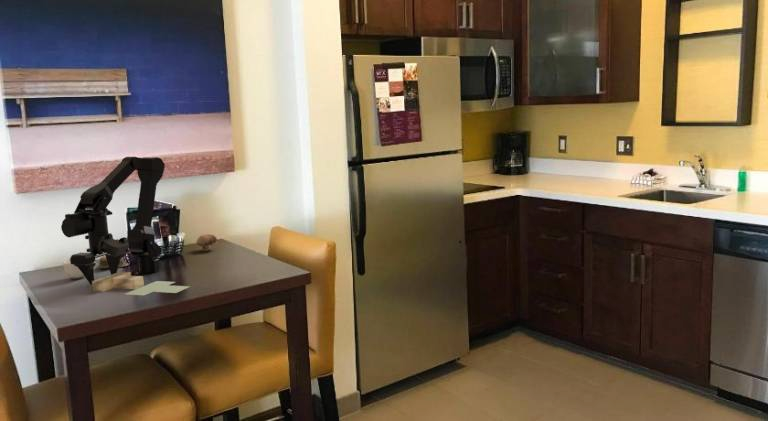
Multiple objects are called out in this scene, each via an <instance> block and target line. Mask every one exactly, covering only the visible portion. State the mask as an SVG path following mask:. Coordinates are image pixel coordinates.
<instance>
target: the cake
mask: <svg viewBox="0 0 768 421" xmlns="http://www.w3.org/2000/svg"><path fill="white" fill-rule="evenodd" d="M126 266H129V263H127V262H125V260H124V256H123V257H122V258H121V260H120V262H119V265H118V268H122V267H123V268H124V267H126ZM97 267H98V268H100V269H109V266H108V263H107V259H106V256H105V255H104V256H101V257H99V262H98V265H97Z"/></svg>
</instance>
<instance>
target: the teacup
mask: <svg viewBox="0 0 768 421" xmlns="http://www.w3.org/2000/svg"><path fill="white" fill-rule="evenodd" d="M94 263H96V265H95V266H94V268H93V269H94V270H95V269H96V268H97V267H98V263H97V262H96V261H94ZM62 265H63V269H64V273H65V275H66V276H67V277H68V278H70V279H81V278H84V277H85V276H84V275H83V273H82V272H81V271H80V269H79V268H78V267H77V266H74V264H71V263H70V259H67V260H66V261H65V260H64V261H63V262H62ZM85 278H86V277H85Z"/></svg>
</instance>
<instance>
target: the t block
mask: <svg viewBox="0 0 768 421" xmlns="http://www.w3.org/2000/svg"><path fill="white" fill-rule="evenodd" d="M144 282H145V281H144V276H143V275H132V273H131V272H130V271H117V273H115V274H112V275H111V274H109V275H107V276H103V277H101V278H98V279H94V281H92V291H93V292H104V293H105V292H106V291H109V290H112V289H123V290H124V289H126V290H136V289H138V288H141V287H143V286H145V283H144Z"/></svg>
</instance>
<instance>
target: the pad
mask: <svg viewBox="0 0 768 421" xmlns="http://www.w3.org/2000/svg"><path fill="white" fill-rule="evenodd" d="M175 283H176V281H166V280H165V281H164V280H156V281H153V282H151V283H148V284H146V285H144V286H142V287H140V288H137V289H132V290H131V291H129V292H126V293H124V295H127V296H129V295H130V296H147V295H148V294H152V293H165V294H166V293H168V294H169V293H170V294H177V293H180V292H181V291H184V290H186V289H188V288H191V286H189V285H188V286H187V285H172V284H175Z"/></svg>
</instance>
